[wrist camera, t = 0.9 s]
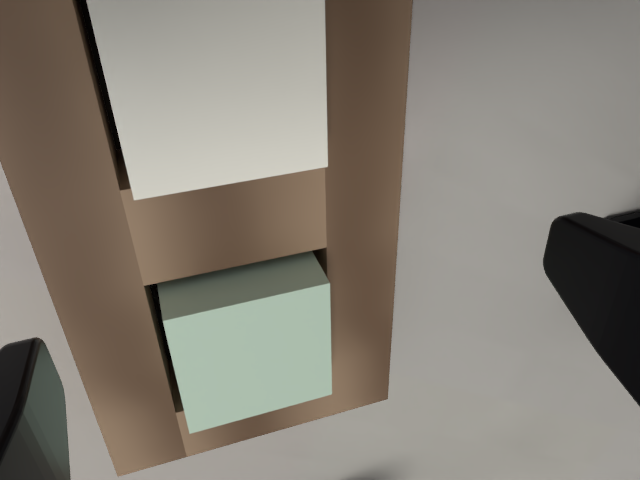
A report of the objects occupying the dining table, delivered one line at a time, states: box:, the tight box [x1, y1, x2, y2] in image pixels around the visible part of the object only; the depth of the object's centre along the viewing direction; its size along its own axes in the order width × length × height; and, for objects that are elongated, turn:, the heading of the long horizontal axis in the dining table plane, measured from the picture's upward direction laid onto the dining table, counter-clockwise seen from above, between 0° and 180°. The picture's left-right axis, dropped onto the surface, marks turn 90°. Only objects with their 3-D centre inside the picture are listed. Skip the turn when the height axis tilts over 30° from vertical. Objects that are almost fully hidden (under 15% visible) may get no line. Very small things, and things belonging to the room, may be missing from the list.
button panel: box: [0, 0, 413, 476], centre depth 17 cm, size 12×32×3 cm, turn 1°
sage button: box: [157, 251, 332, 434], centre depth 22 cm, size 6×6×3 cm
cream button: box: [86, 0, 328, 200], centre depth 16 cm, size 6×6×3 cm
